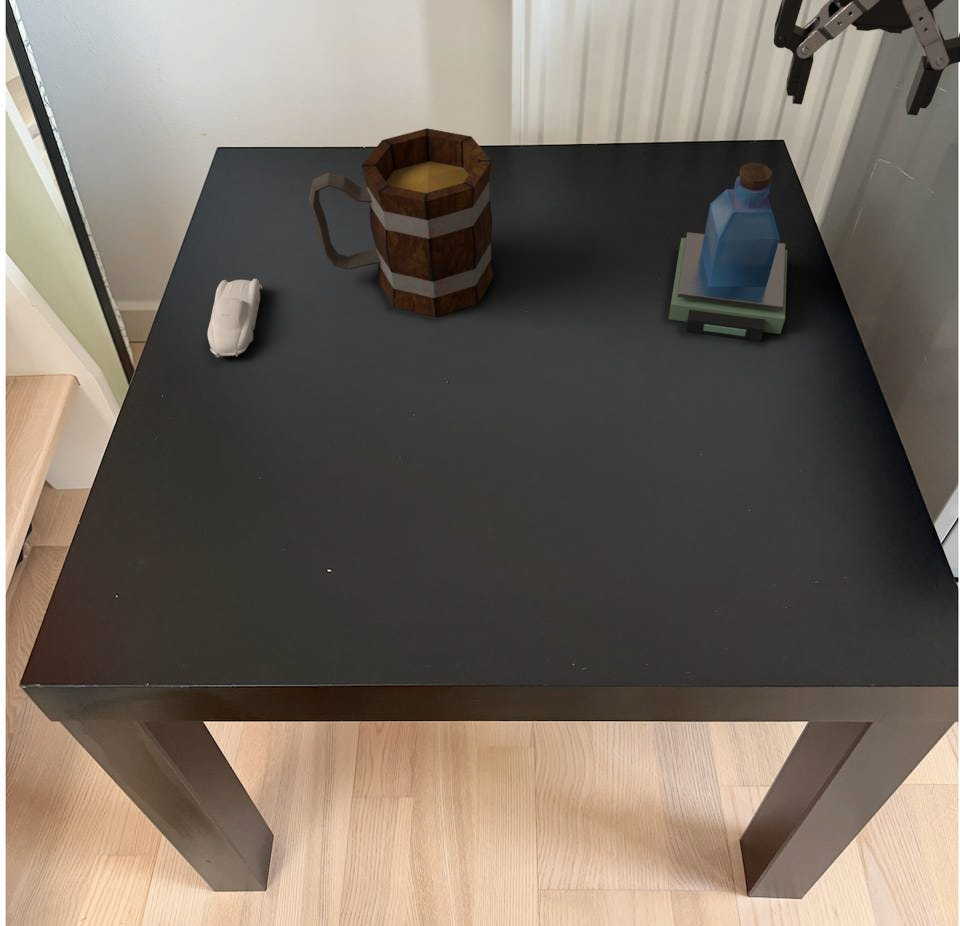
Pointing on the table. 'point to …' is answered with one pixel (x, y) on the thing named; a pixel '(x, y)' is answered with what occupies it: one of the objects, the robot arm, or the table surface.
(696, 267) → the pan
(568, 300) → the table surface
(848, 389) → the table surface
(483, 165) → the mug
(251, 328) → the toy car
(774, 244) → the perfume bottle
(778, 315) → the scale
